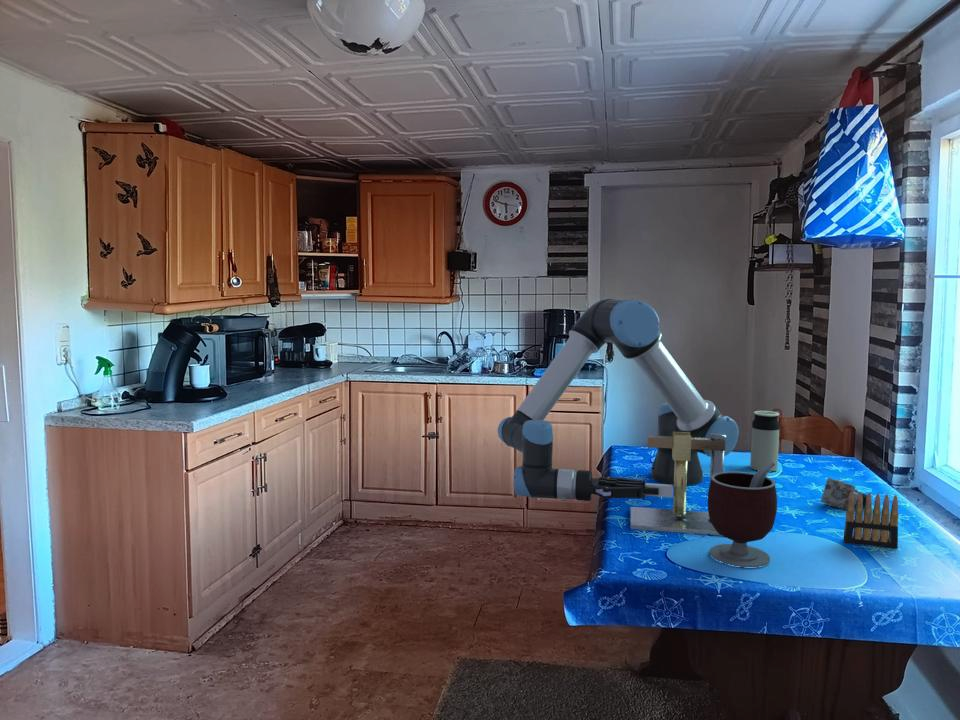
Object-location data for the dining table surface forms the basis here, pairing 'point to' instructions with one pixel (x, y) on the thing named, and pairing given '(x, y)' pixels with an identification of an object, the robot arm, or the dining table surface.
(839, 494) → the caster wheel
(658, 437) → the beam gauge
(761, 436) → the travel mug
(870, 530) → the ammunition clip
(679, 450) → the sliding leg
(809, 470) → the dining table surface
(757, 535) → the mate gourd
